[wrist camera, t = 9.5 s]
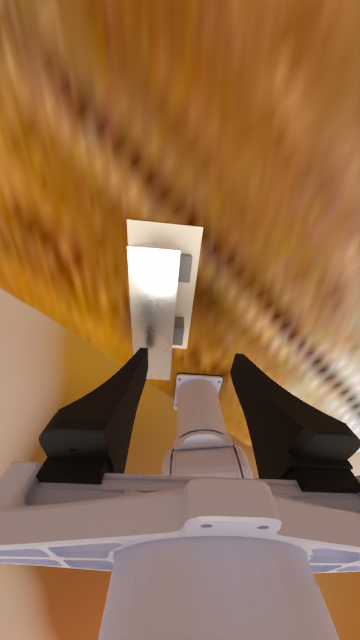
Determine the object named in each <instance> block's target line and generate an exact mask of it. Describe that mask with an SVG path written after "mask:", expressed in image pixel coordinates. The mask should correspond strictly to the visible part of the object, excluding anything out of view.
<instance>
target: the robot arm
mask: <svg viewBox="0 0 360 640" xmlns="http://www.w3.org/2000/svg"><path fill="white" fill-rule="evenodd" d="M147 372H148V348H139V349H138V351H137V352H136V353H135V354H134V355H133V357H132V358H131V359H130V360H129V361H128V362H127V363H126V364H125V365H124V366H123V367H122V368H121V369H120V370H119V371H118V372H117V373H116V374H115V375H113V376H112V377H111V378H110V379H109V380H107V381H106V382H105V383H103V384H102V385H101V386H99V387H98V388H96V389H95V390H93V391H92V392H90V393H89V394H87V395H85V396H84V397H82V398H80V399H78V400H77V401H75V402H73V403H71V404H69V405H67V406H65V407H63V408H61V409H59V410H58V412H57V413H56V414H55V415H54V416H53V418H52V419H51V420H50V422H49V423H48V425H47V426H46V428H45V429H44V430H43V432H42V433H41V435H40V436H39V442H40V444H41V447H42V448H43V450H44V451H45V453H46V455H47V459H46V461H45V462H44V464H43V465H42V464H40V463H36V462H18V461H15V462H12V463H11V465H10V466H9V467H8V468H7V470H6V471H5V472H4V474H3V475H2V476H1V478H0V563H1V564H23V565H40V566H52V567H65V568H77V569H90V570H103V571H112V574H111V579H110V584H109V589H108V594H107V599H106V604H105V609H104V614H103V618H102V623H101V628H100V633H99V638H98V640H339V637H338V635H337V632H336V630H335V627H334V625H333V622H332V620H331V617H330V615H329V612H328V610H327V607H326V605H325V602H324V600H323V597H322V595H321V592H320V589H319V587H318V584H317V582H316V579H315V577H314V574H313V573H331V572H360V476H356V477H355V476H354V474H353V473H352V472H351V470H350V469H353V467H352V465H351V464H350V463H349V461H348V460H347V459H349V458H350V457H351V456H352V455H353V454H354V453H355V452H356V451H357V450H358V449H359V448H360V439H359V438H358V437H357V436H356V435H355V434H354V433H353V432H352V430H351V429H350V428H349V427H348V426H347V425H346V424H345V423H343V422H341V421H339V420H337V419H335V418H333V417H331V416H329V415H327V414H325V413H323V412H321V411H319V410H318V409H316V408H314V407H312V406H310V405H309V404H307V403H305V402H303V401H302V400H300V399H299V398H297V397H296V396H294V395H292V394H291V393H289V392H288V391H287V390H285V389H284V388H282V387H281V386H280V385H278V384H277V383H276V382H274V381H273V380H272V379H271V378H269V377H268V376H267V375H266V374H265V373H264V372H262V371H261V370H260V369H259V368H258V367H257V366H256V365H255V364H254V363H252V362H251V361H250V360H249V359H248V358H247V357H246V356H245V355H244V354H235V358H234V361H233V364H232V368H231V371H230V373H231V378H232V382H233V385H234V388H235V391H236V394H237V396H238V399H239V401H240V404H241V407H242V409H243V412H244V415H245V419H246V422H247V426H248V430H249V434H250V438H251V442H252V446H253V451H254V455H255V459H256V465H257V469H258V475H259V479H253V476H252V472H251V468H250V465H249V462H248V460H247V457H246V454H245V452H244V451H243V449H242V448H240V446H239V445H238V444H232V440H231V436H230V435H228V434H227V430H226V426H225V422H224V418H223V413H222V409H221V405H220V401H219V397H218V394H219V391H220V387H221V384H222V381H223V379H222V377H220V376H206V375H191V374H178V375H177V380H176V389H175V398H174V407H173V408H174V410H177V439H174V448H170V449H169V450H168V452H167V453H166V455H165V457H164V460H163V466H162V475H146V474H145V475H144V474H124V471H125V465H126V459H127V454H128V449H129V444H130V439H131V433H132V429H133V424H134V420H135V415H136V410H137V407H138V403H139V400H140V397H141V394H142V390H143V387H144V384H145V381H146V377H147ZM179 378H180V379H179Z"/></svg>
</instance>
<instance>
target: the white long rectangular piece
mask: <svg viewBox="0 0 360 640" xmlns="http://www.w3.org/2000/svg"><path fill="white" fill-rule="evenodd" d="M127 258H128V275H129V291H130V308H131V325H132V342H133V355H134V354H135V353H136V352H137V351H138V349H139V348H148V372H147V377H146V379H157V380H170V371H171V359H172V346H173V334H174V322H175V310H176V297H177V285H178V273H179V261H180V247H176V246H165V245H155V244H144V243H142V244H136V245H130V246H127Z"/></svg>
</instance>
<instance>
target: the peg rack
mask: <svg viewBox="0 0 360 640" xmlns="http://www.w3.org/2000/svg"><path fill="white" fill-rule="evenodd" d="M127 233H128V246H130V245H136V244H142V243H144V244H155V245H165V246H176V247H180V261H179V273H178V285H177V297H176V310H175V322H174V334H173V346H172V348H182V349H187V344H188V337H189V329H190V322H191V314H192V307H193V300H194V292H195V285H196V277H197V270H198V263H199V255H200V248H201V241H202V233H203V227H196V226H187V225H177V224H167V223H158V222H148V221H138V220H129V219H127Z"/></svg>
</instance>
